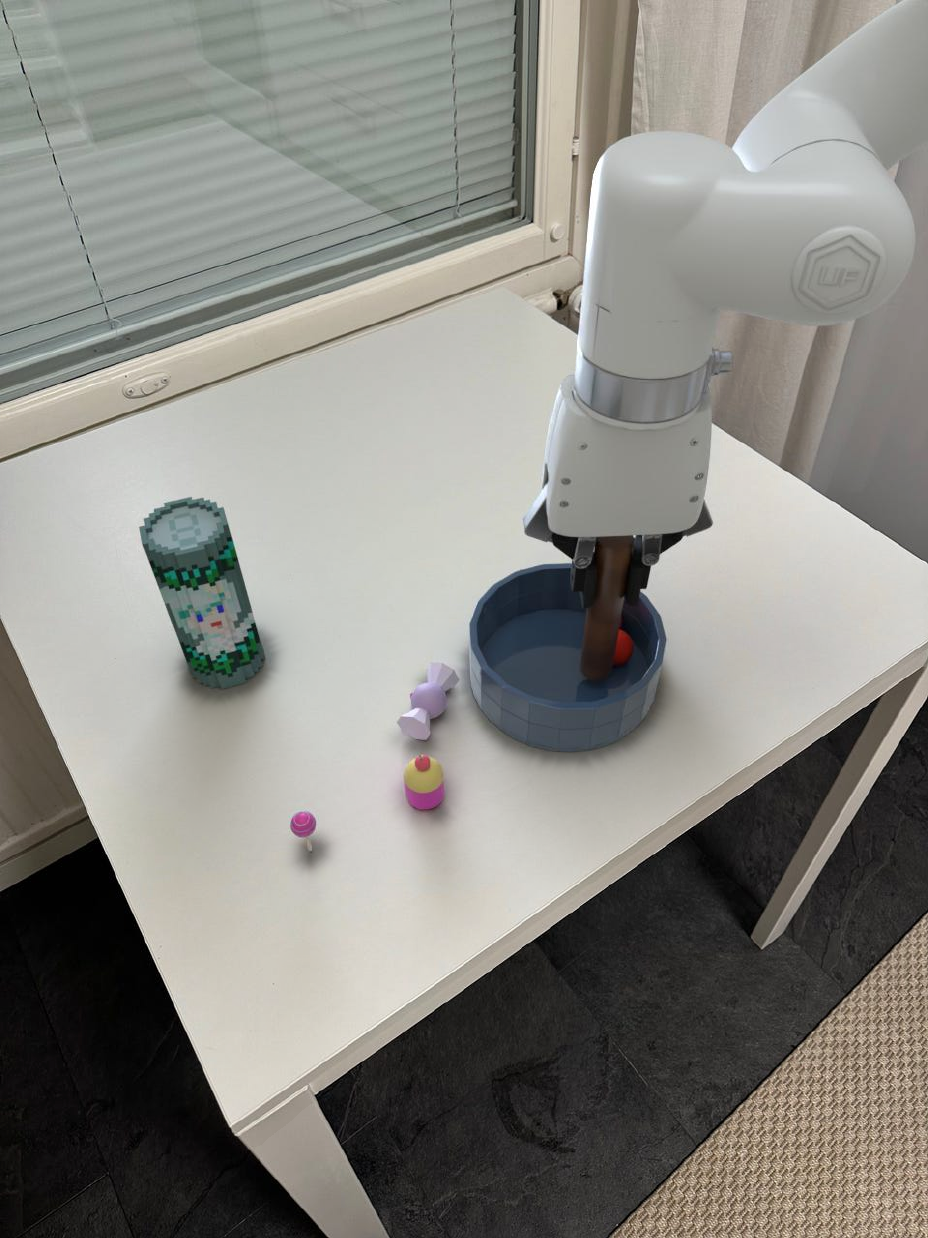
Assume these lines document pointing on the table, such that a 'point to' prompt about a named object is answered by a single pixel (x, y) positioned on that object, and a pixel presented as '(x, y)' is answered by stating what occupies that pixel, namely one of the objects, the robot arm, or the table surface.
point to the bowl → (557, 663)
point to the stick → (605, 606)
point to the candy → (422, 771)
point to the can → (203, 590)
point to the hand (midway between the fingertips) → (606, 592)
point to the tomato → (623, 648)
